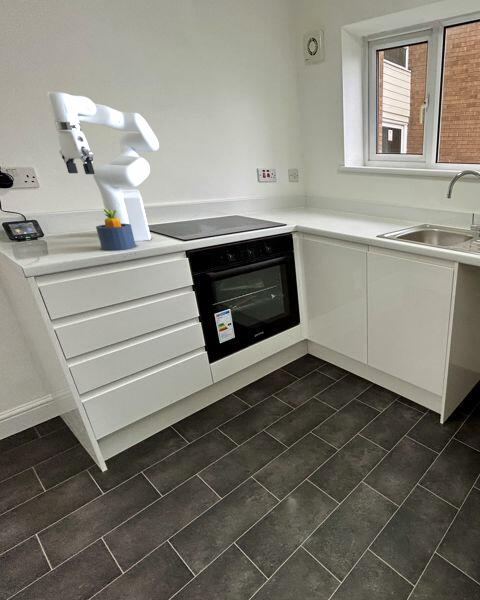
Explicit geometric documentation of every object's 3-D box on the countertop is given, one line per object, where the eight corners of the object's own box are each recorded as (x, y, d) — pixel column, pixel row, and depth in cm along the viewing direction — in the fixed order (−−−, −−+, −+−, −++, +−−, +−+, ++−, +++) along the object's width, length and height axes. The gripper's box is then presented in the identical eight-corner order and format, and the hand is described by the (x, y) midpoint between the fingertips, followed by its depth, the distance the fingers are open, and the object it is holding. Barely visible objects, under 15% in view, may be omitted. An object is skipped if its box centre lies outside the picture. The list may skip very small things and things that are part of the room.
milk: (149, 240, 160) (138, 190, 152) (133, 241, 157) (121, 190, 149) (151, 237, 165) (140, 189, 157) (135, 238, 162) (123, 189, 154)
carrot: (129, 244, 148) (120, 208, 142) (119, 247, 143) (109, 209, 138) (118, 243, 148) (108, 207, 143) (108, 246, 144) (97, 209, 138)
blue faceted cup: (122, 243, 153) (117, 222, 149) (142, 246, 150) (137, 224, 146) (95, 248, 143) (88, 226, 139) (115, 251, 140) (109, 229, 136)
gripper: (94, 129, 140) (106, 174, 146) (64, 128, 144) (77, 172, 151) (73, 127, 133) (86, 174, 139) (42, 127, 138) (56, 173, 144)
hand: (81, 173), depth 145 cm, fingers open, 9 cm apart
